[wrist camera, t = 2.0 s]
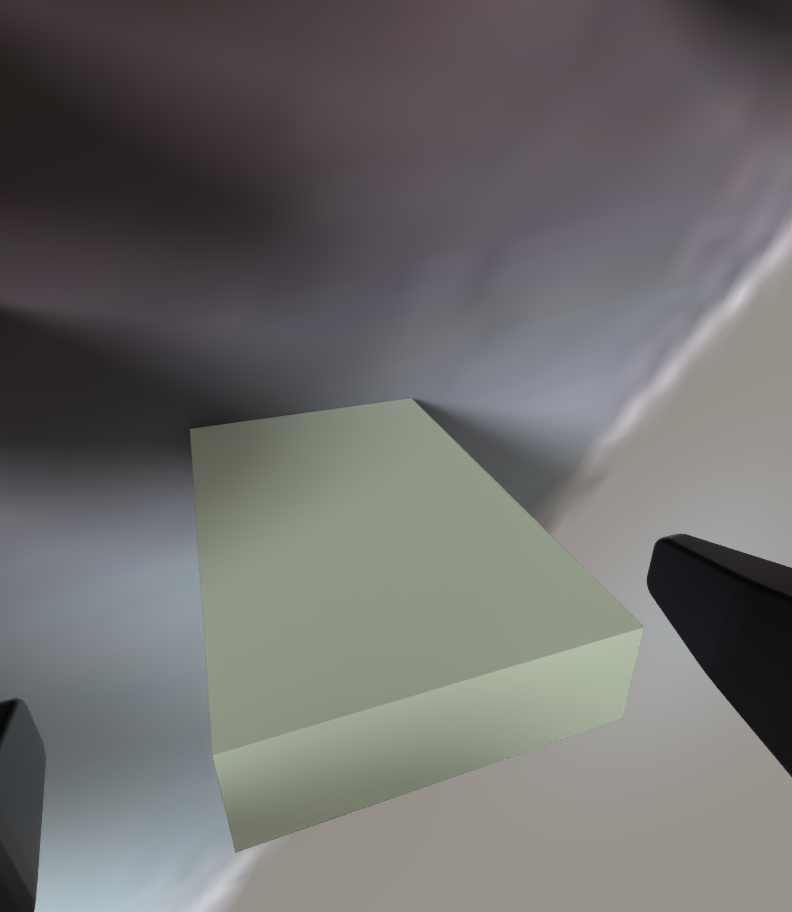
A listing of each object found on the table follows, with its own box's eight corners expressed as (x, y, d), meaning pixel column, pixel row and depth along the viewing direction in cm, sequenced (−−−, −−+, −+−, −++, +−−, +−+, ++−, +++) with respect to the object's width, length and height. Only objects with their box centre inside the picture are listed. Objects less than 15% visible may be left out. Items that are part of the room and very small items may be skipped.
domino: (411, 458, 14) (622, 717, 8) (202, 493, 13) (235, 852, 6) (411, 398, 14) (644, 627, 7) (190, 429, 12) (212, 755, 6)
